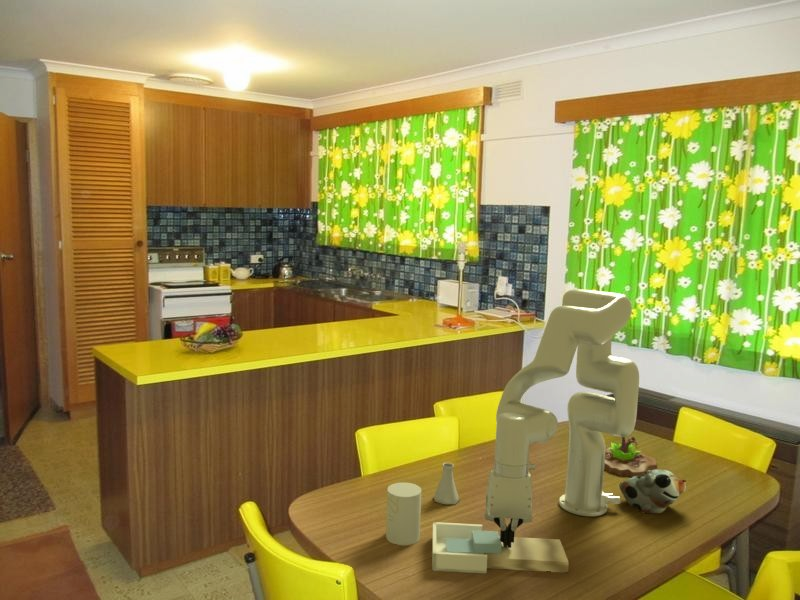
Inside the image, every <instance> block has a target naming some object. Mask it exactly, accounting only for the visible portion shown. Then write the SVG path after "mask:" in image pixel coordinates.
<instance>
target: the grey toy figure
mask: <svg viewBox="0 0 800 600" xmlns="http://www.w3.org/2000/svg"><path fill="white" fill-rule="evenodd" d="M687 486H688V485H687V479H683V478H682V479H680V478H678V477H677V476H676V475H675V474H674V473H673V472H671V471H669V470H668V469H667V470H666V469H658V468H657V469H655V470H646V471H645V475H644V476H634V477H632V478H631V477H629V478H627V479H625V480H623V481H622V482H620V483H619V484H618V487H619V489H620V492H621V493H622V495H623V498H624V500H626V502H627V503H628V504H629V505H630V507H632V508H637V510H638V512H640V513H642V512H644V513H643V514H653V513H663V512H664V511H666V509H667V508H668V507H669V506H670V505H673V504H674V503H675V502H676V501H677V500H678V499H679V497H680V496H681V495H682V494H684V492H686V488H687Z"/></svg>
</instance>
